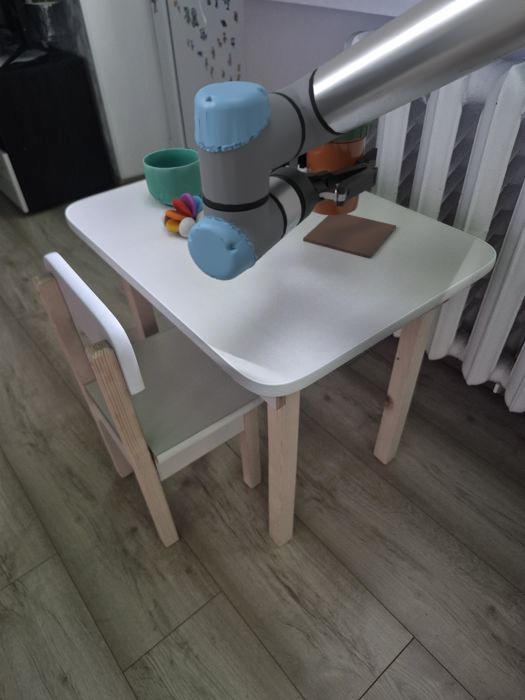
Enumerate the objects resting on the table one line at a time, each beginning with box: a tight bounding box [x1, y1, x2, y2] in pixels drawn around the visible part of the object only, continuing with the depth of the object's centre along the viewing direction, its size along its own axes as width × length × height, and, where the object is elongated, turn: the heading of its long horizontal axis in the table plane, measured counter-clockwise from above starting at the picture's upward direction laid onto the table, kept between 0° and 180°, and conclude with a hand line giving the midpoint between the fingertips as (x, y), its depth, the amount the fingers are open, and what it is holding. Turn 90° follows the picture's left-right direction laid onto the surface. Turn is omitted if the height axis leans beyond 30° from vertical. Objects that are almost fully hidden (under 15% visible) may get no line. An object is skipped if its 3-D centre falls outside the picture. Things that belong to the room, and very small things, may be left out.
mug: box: [142, 147, 202, 207], centre depth 107 cm, size 17×13×10 cm
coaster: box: [302, 213, 397, 259], centre depth 96 cm, size 14×14×1 cm
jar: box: [305, 136, 367, 216], centre depth 75 cm, size 9×9×13 cm
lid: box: [333, 120, 373, 141], centre depth 71 cm, size 10×10×2 cm
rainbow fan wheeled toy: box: [161, 193, 204, 238], centre depth 96 cm, size 8×10×7 cm
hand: (346, 151), depth 77 cm, fingers closed on jar, 9 cm apart
